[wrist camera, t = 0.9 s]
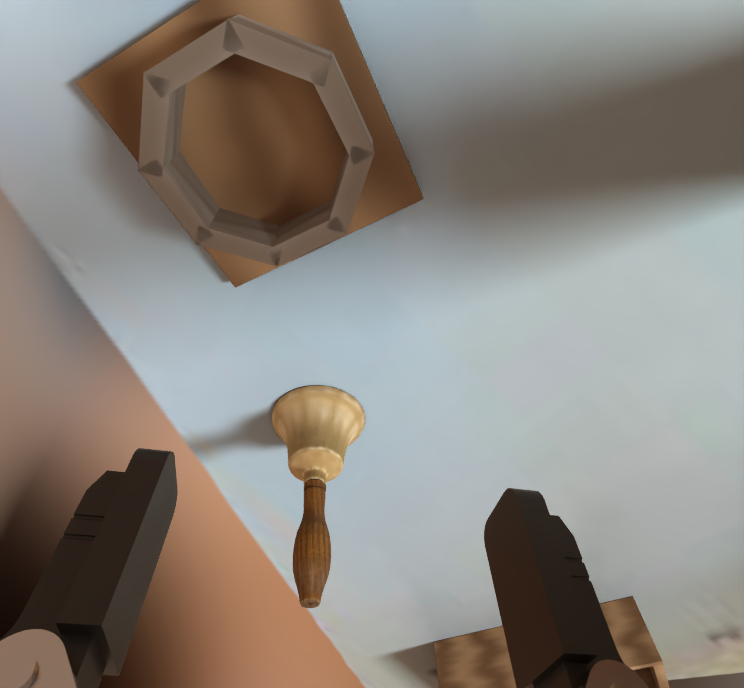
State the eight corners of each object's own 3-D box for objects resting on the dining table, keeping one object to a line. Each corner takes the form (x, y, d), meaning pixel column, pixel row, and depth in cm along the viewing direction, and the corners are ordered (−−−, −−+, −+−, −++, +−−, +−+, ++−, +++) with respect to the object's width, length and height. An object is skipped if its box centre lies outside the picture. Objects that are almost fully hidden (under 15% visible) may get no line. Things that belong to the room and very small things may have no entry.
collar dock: (309, -70, 22) (303, -76, 19) (421, 193, 30) (429, 218, 27) (84, 78, 26) (47, 93, 23) (238, 280, 34) (226, 311, 31)
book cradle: (632, 596, 67) (662, 661, 61) (650, 654, 81) (676, 711, 75) (433, 642, 74) (441, 704, 68) (481, 688, 88) (491, 743, 82)
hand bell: (316, 369, 39) (301, 557, 27) (384, 418, 43) (398, 603, 30) (252, 418, 42) (211, 607, 30) (320, 460, 46) (309, 642, 34)
